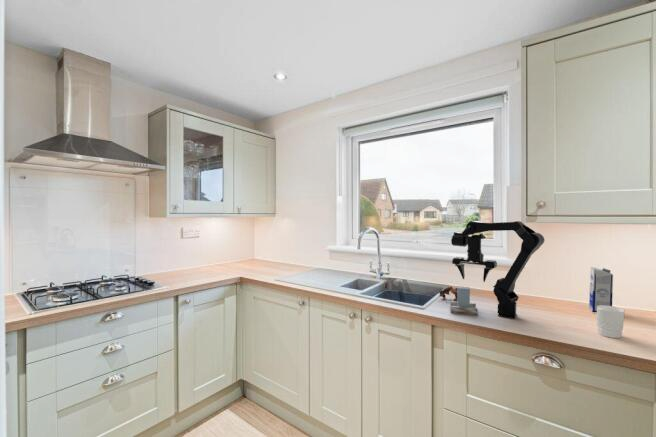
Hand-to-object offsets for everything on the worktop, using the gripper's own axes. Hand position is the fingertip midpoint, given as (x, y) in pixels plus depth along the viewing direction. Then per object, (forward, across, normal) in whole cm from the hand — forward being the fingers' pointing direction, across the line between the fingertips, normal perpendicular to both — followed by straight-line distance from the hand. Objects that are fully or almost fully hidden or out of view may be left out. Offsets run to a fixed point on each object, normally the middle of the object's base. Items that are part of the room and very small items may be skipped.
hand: (473, 280), depth 154 cm
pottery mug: (+13, +12, -6) cm, 19 cm away
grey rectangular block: (+12, +2, +9) cm, 15 cm away
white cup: (+13, -49, +3) cm, 51 cm away
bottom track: (+13, +2, +9) cm, 16 cm away
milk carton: (+13, -47, -30) cm, 57 cm away
